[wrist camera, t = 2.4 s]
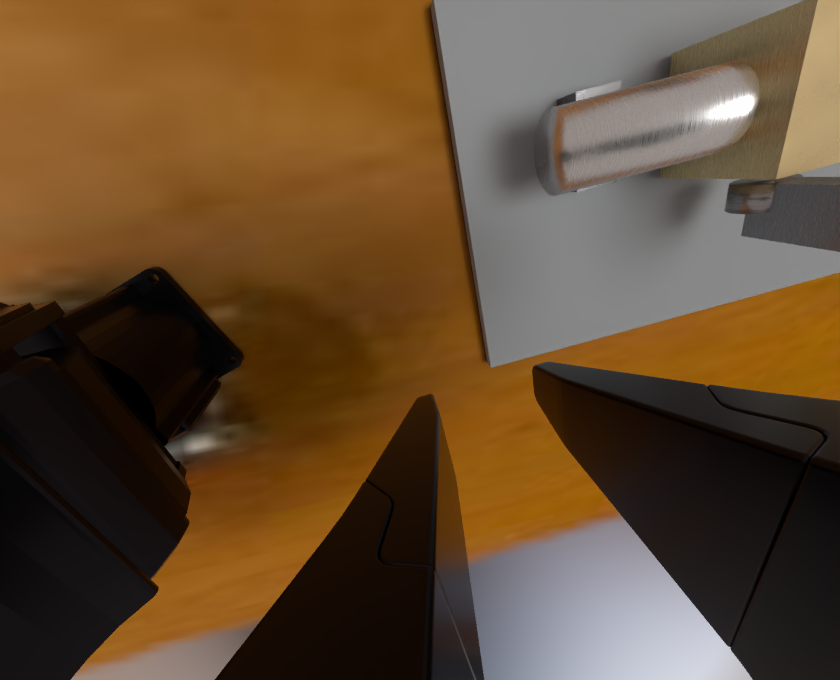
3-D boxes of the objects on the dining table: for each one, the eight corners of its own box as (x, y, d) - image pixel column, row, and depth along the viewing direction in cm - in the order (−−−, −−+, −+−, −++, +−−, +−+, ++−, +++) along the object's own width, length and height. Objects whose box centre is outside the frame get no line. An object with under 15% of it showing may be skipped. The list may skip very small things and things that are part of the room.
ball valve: (524, 220, 18) (591, 239, 13) (514, 94, 15) (592, 51, 10) (877, 127, 18) (1085, 107, 13) (923, -10, 16) (1205, -104, 11)
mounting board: (487, 361, 22) (491, 367, 22) (430, 6, 14) (433, -3, 14) (854, 261, 23) (869, 263, 22) (1000, -135, 15) (1032, -151, 14)
